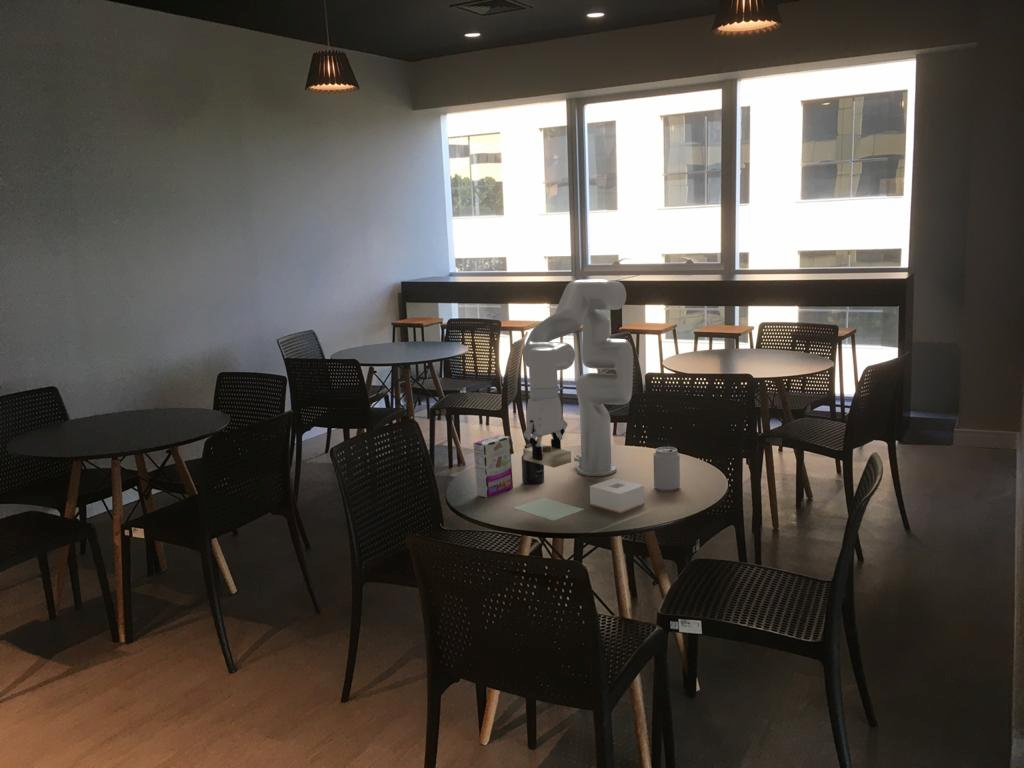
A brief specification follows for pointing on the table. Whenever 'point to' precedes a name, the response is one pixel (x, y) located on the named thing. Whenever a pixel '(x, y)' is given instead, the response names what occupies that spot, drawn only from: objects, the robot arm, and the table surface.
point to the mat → (548, 509)
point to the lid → (549, 456)
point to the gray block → (617, 495)
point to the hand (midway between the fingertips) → (547, 456)
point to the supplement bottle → (532, 471)
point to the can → (666, 469)
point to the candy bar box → (493, 466)
